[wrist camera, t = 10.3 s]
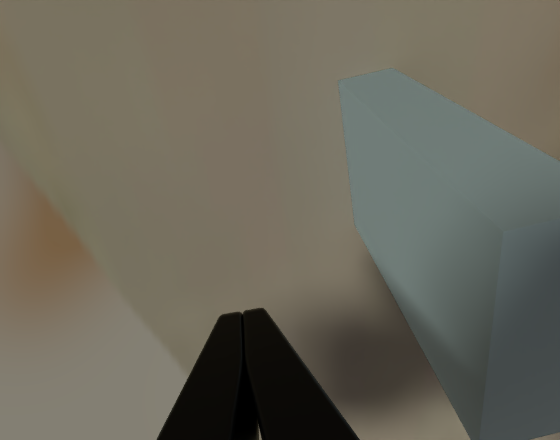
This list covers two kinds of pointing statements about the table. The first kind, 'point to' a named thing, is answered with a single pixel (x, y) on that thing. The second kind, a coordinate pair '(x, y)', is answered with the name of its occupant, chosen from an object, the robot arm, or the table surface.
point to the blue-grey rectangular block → (462, 247)
